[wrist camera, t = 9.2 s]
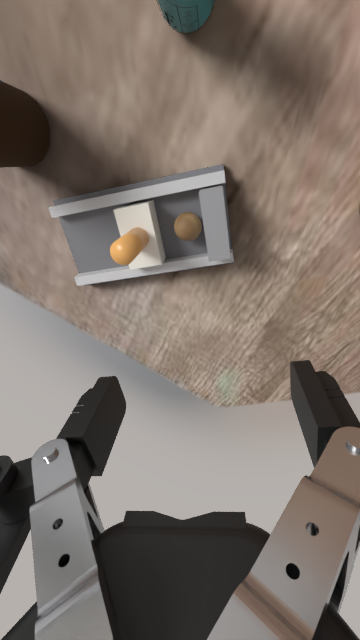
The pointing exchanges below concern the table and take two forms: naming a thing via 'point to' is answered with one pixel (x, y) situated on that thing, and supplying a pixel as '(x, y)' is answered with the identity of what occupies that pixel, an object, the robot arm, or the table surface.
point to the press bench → (170, 201)
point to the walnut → (187, 226)
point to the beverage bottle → (186, 13)
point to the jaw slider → (138, 236)
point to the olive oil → (21, 128)
